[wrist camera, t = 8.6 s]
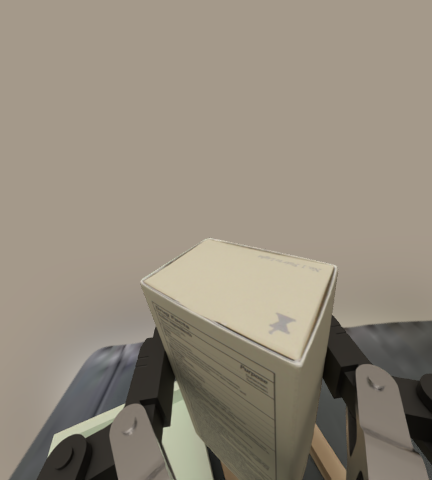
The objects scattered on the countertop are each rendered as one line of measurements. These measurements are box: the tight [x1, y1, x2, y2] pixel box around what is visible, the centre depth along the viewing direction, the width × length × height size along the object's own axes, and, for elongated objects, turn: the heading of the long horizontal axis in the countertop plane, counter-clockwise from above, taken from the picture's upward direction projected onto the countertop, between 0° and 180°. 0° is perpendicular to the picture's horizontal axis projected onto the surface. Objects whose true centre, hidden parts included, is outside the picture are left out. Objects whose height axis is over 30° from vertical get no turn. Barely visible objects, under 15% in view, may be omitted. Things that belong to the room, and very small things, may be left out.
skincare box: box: [140, 238, 338, 480], centre depth 10 cm, size 6×4×12 cm
